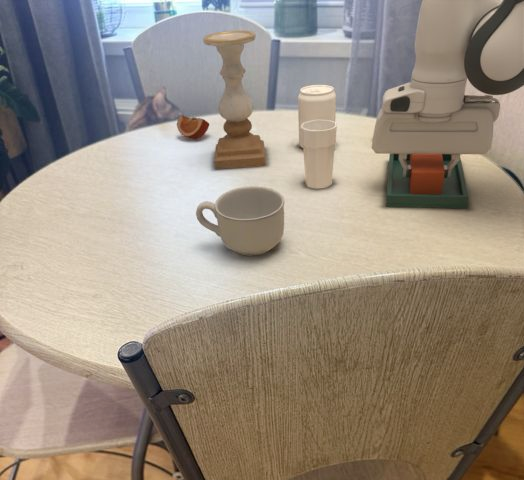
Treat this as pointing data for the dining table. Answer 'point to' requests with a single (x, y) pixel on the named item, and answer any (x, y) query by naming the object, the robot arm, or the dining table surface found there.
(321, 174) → the cup
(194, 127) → the fruit slice
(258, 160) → the candle holder
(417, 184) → the orange block
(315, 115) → the beverage can
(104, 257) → the dining table surface
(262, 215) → the teacup
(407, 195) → the tray
